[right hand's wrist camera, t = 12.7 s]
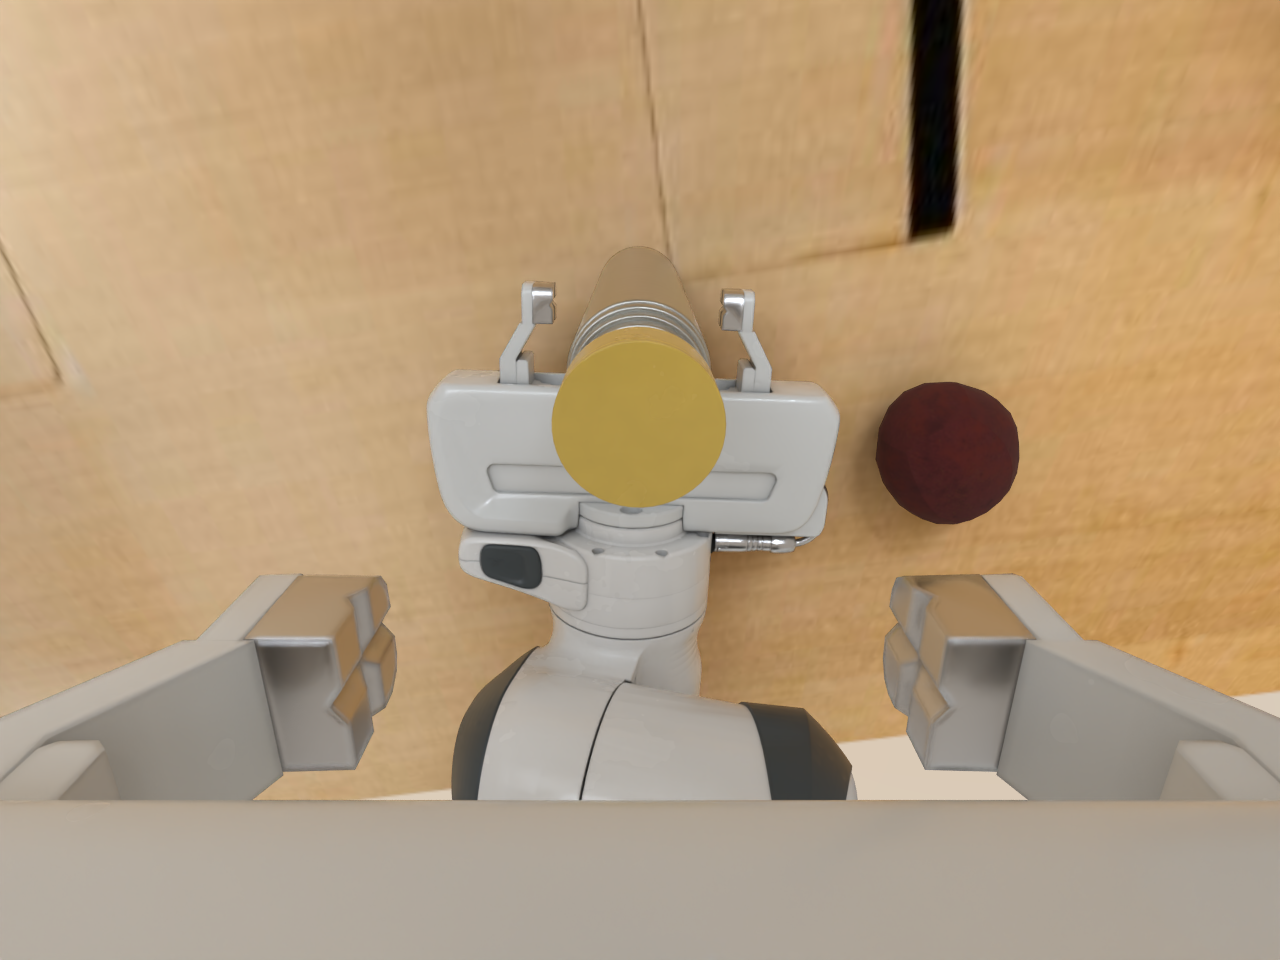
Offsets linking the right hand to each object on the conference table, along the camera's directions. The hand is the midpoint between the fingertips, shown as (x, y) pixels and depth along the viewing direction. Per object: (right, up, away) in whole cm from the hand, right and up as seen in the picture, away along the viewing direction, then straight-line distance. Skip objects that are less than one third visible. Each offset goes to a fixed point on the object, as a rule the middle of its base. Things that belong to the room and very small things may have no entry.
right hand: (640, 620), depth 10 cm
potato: (+16, +5, +34) cm, 38 cm away
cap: (0, +3, +8) cm, 9 cm away
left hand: (0, +11, +26) cm, 28 cm away
